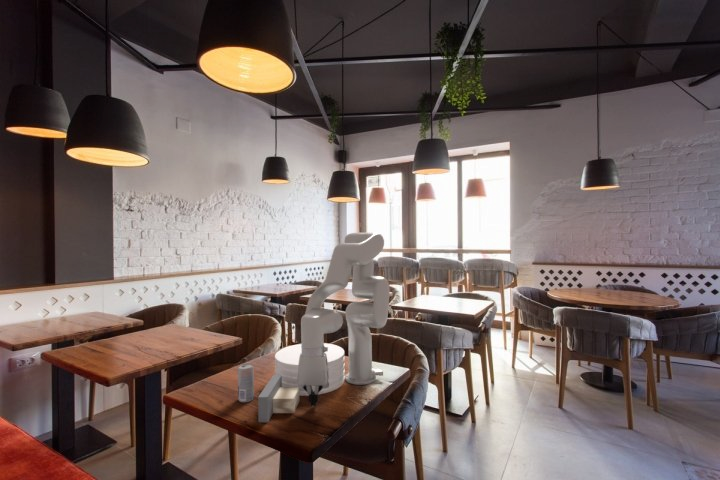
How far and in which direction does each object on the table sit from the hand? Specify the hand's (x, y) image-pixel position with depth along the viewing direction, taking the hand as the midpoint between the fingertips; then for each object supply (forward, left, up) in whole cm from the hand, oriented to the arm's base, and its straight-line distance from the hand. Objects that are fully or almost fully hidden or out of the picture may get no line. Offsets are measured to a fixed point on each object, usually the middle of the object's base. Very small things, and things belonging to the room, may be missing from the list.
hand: (313, 404), depth 120 cm
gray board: (+15, 0, -1) cm, 15 cm away
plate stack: (+5, -24, -2) cm, 24 cm away
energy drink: (+26, -7, -2) cm, 27 cm away
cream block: (+10, -1, -2) cm, 10 cm away
